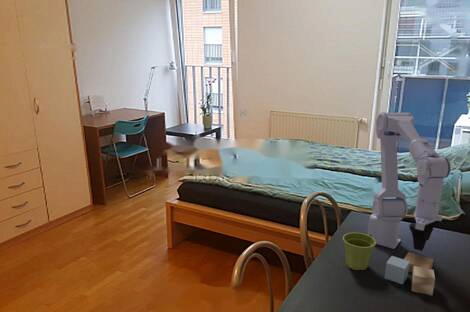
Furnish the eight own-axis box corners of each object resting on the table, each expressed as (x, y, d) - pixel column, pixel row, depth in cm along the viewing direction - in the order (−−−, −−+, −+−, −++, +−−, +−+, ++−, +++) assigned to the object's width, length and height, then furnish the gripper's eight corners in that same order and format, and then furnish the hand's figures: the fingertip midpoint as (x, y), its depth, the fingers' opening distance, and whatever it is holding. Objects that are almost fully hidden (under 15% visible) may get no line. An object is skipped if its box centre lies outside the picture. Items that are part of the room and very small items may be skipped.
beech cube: (411, 291, 102) (414, 275, 101) (411, 281, 107) (413, 265, 105) (432, 295, 100) (435, 279, 99) (430, 285, 105) (433, 269, 104)
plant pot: (334, 265, 114) (337, 239, 112) (349, 254, 121) (351, 229, 118) (364, 278, 108) (367, 250, 106) (377, 265, 115) (381, 239, 112)
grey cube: (384, 278, 108) (386, 262, 107) (389, 270, 112) (391, 255, 111) (402, 284, 105) (405, 269, 104) (407, 276, 109) (409, 261, 108)
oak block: (401, 270, 113) (402, 261, 112) (407, 260, 118) (408, 251, 117) (426, 278, 109) (428, 269, 108) (431, 268, 114) (433, 259, 113)
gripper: (439, 211, 96) (431, 259, 99) (449, 195, 107) (441, 238, 111) (410, 204, 100) (403, 250, 103) (422, 189, 111) (415, 231, 115)
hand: (421, 244), depth 107 cm, fingers open, 7 cm apart
